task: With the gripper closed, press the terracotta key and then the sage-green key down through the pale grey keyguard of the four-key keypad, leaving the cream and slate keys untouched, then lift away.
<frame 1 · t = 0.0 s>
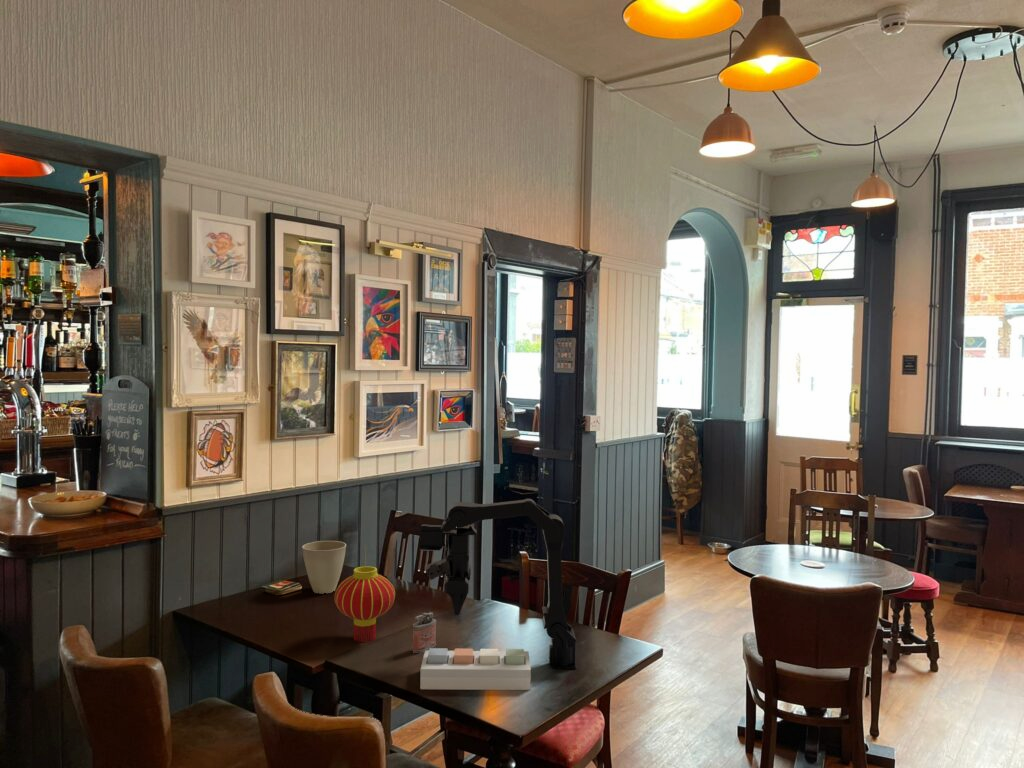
hand: (457, 609, 200), 15 cm above the table, tool pointing down, fingers open, 9 cm apart
key terracotta: (463, 656, 191), point 6 cm above the table, slide at 0.0 cm
key slate: (437, 656, 191), point 6 cm above the table, slide at 0.0 cm
lantern: (364, 638, 218), on the table
lighter: (424, 649, 211), on the table
plant pot: (323, 591, 263), on the table
key cream: (489, 657, 191), point 6 cm above the table, slide at 0.0 cm
key sage: (514, 657, 191), point 6 cm above the table, slide at 0.0 cm
keypad: (476, 679, 191), on the table
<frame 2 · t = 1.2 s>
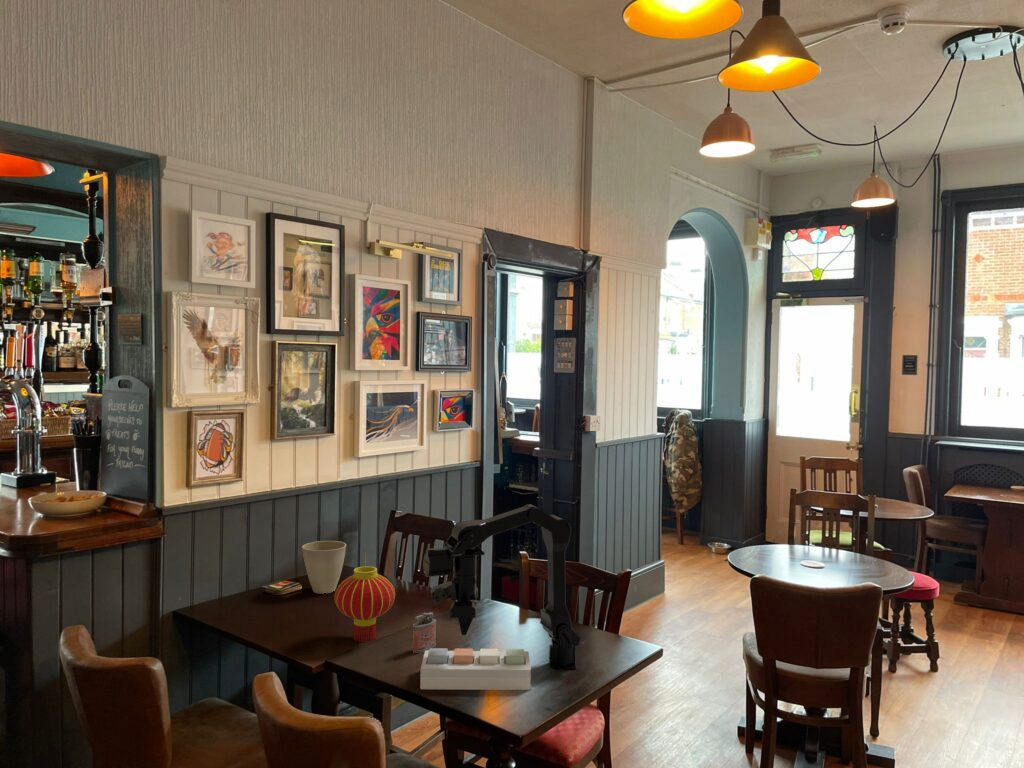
hand: (463, 634, 191), 12 cm above the table, tool pointing down, fingers closed
nothing on the table moved.
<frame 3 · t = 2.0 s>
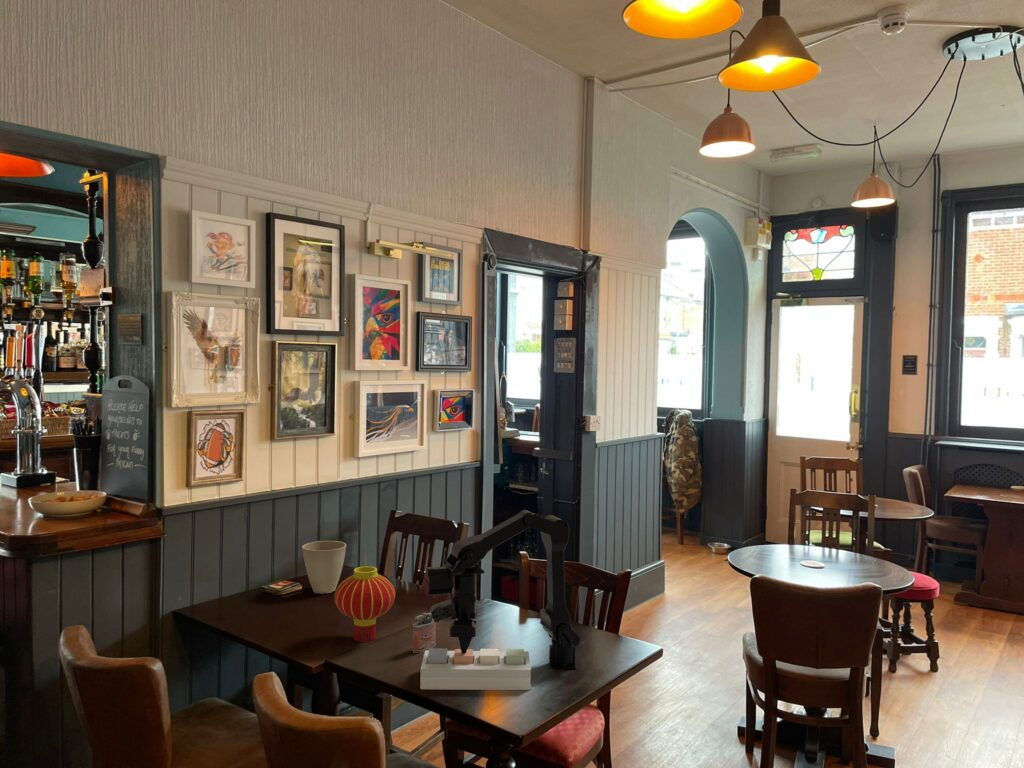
hand: (463, 652, 191), 7 cm above the table, tool pointing down, fingers closed, pressing on key terracotta
key terracotta: (463, 657, 191), point 6 cm above the table, slide at 0.2 cm, touching gripper
everything else where it was.
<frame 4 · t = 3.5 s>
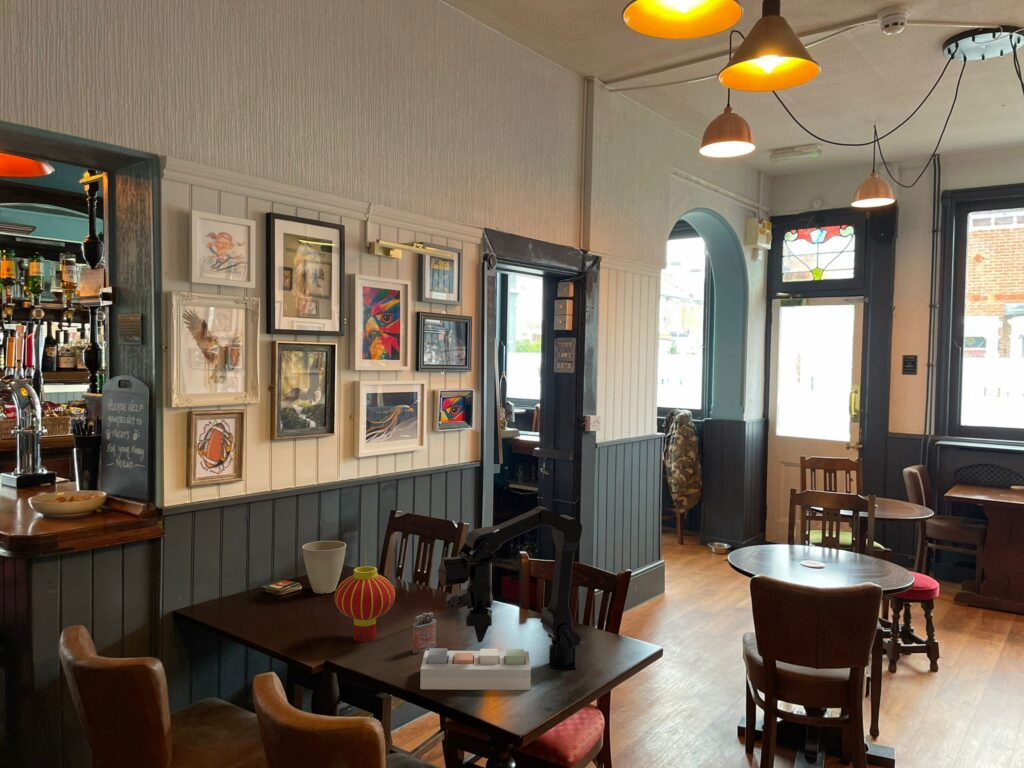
hand: (479, 641, 191), 10 cm above the table, tool pointing down, fingers closed
key terracotta: (463, 661, 191), point 5 cm above the table, slide at 1.1 cm
everything else where it was.
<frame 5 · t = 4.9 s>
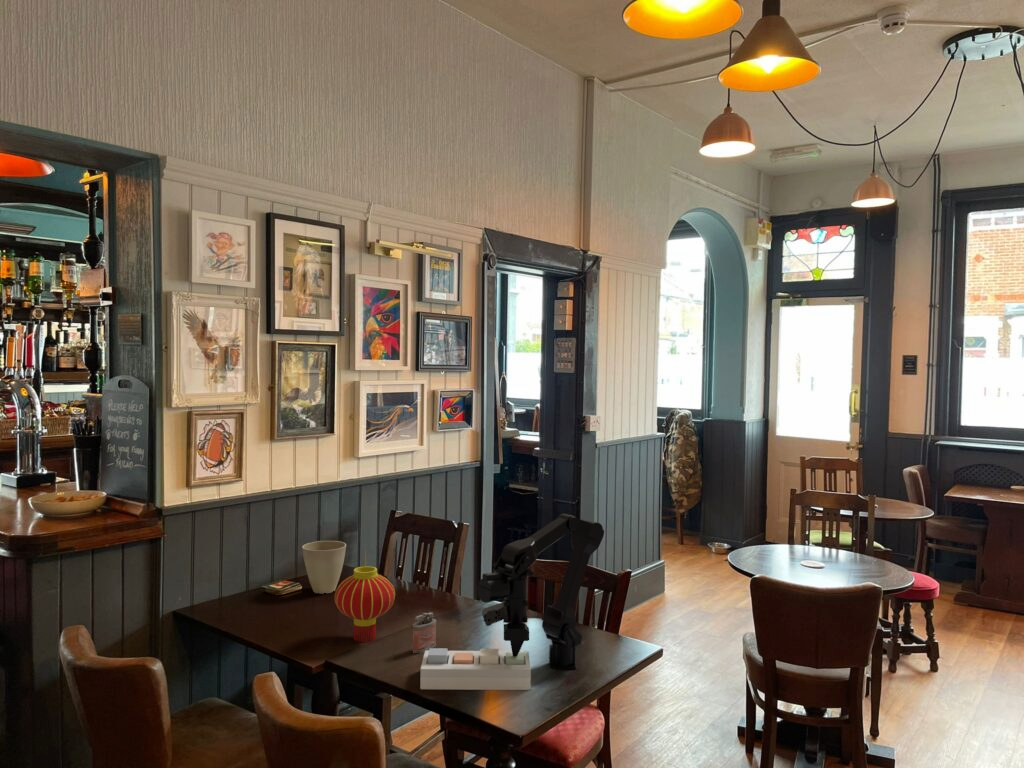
hand: (515, 656, 191), 6 cm above the table, tool pointing down, fingers closed, pressing on key sage
key sage: (514, 660, 191), point 5 cm above the table, slide at 1.0 cm, touching gripper
everything else where it was.
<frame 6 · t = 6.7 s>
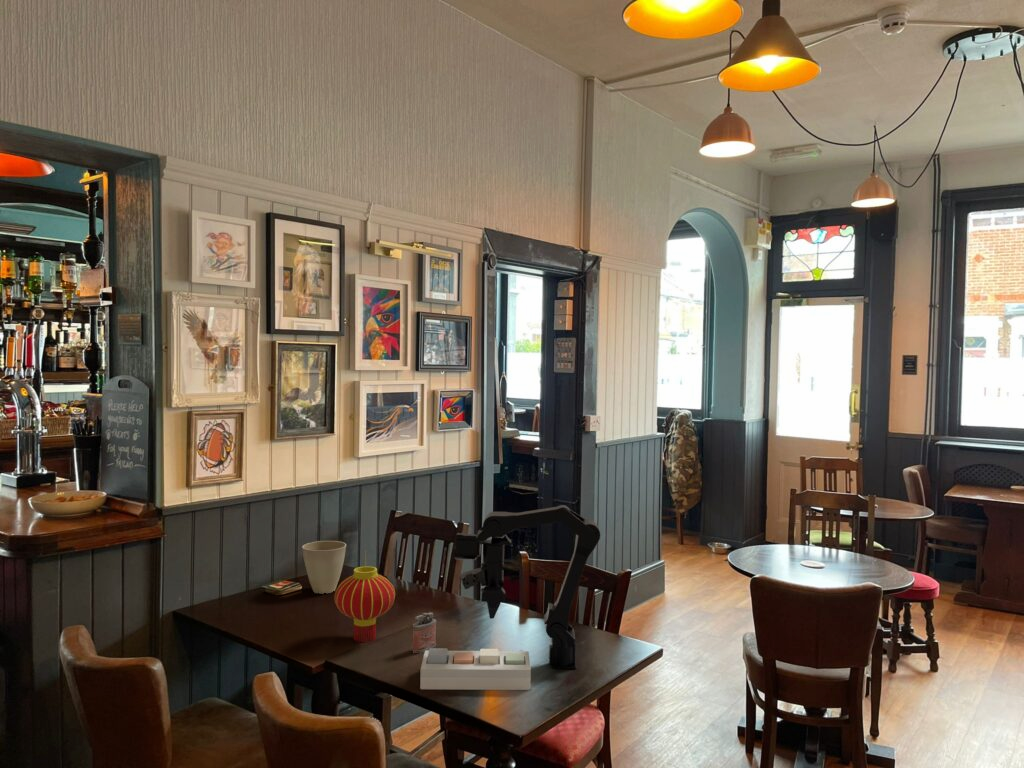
hand: (491, 618, 202), 12 cm above the table, tool pointing down, fingers closed
key sage: (514, 661, 191), point 5 cm above the table, slide at 1.1 cm
everything else where it was.
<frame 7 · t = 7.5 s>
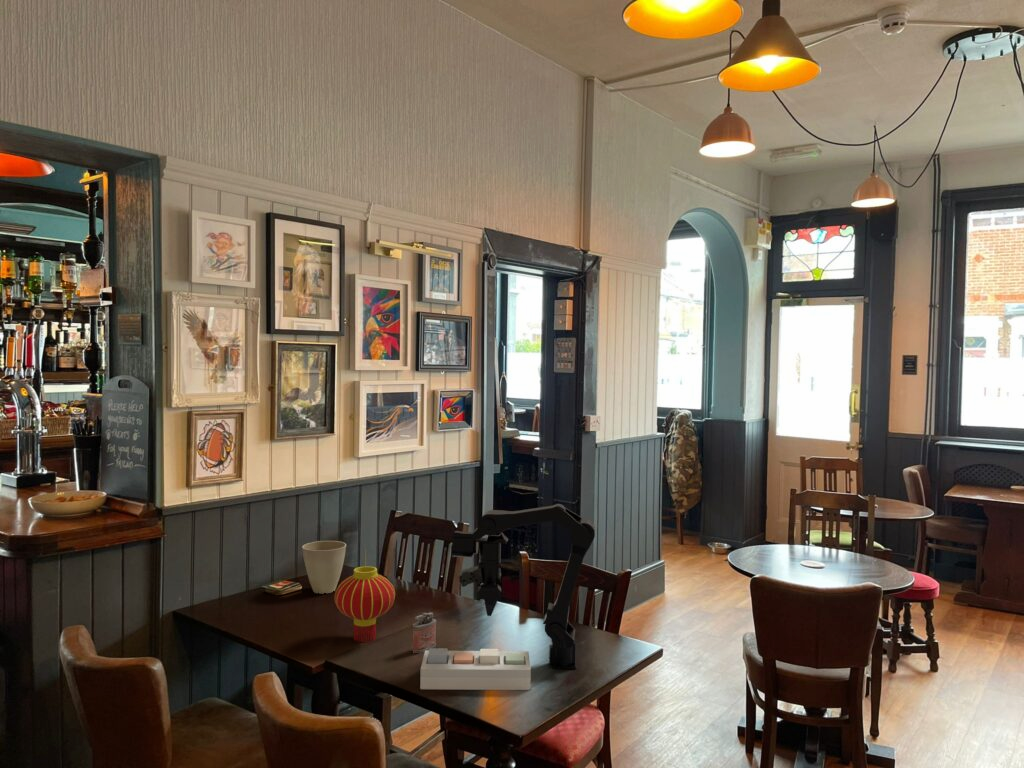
hand: (489, 615, 204), 12 cm above the table, tool pointing down, fingers closed
nothing on the table moved.
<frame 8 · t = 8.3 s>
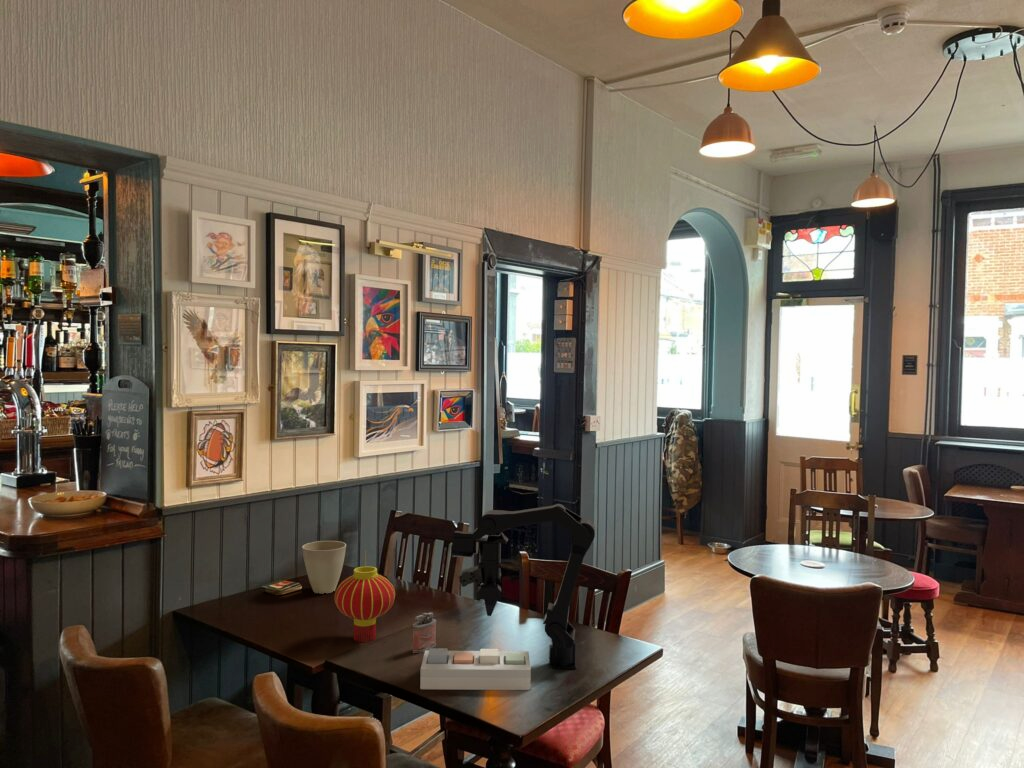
hand: (489, 615, 204), 12 cm above the table, tool pointing down, fingers closed
nothing on the table moved.
at the end: key terracotta slide at 1.1 cm; key sage slide at 1.1 cm; key cream slide at 0.0 cm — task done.
